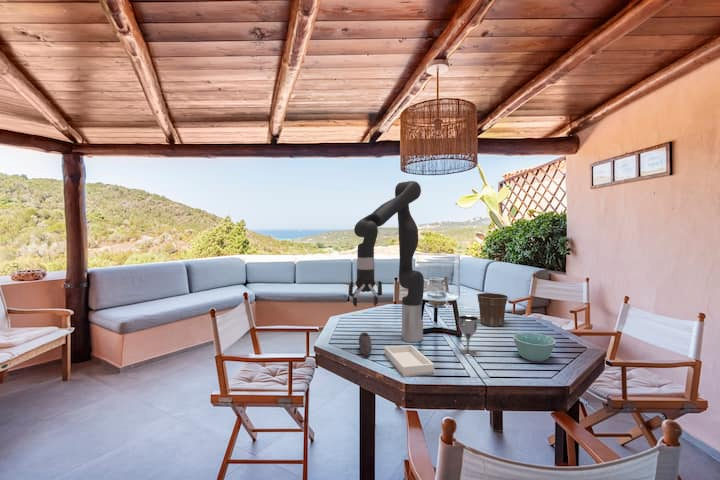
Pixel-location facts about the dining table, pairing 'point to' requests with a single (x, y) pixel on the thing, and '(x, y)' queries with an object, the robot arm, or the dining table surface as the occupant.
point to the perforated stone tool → (365, 343)
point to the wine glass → (468, 331)
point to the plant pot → (492, 309)
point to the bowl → (534, 346)
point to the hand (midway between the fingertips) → (365, 305)
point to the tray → (409, 361)
